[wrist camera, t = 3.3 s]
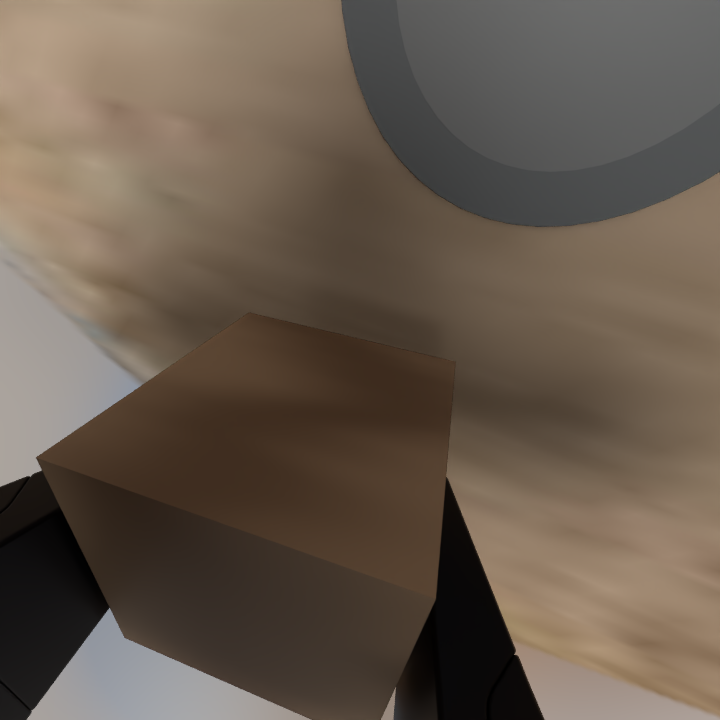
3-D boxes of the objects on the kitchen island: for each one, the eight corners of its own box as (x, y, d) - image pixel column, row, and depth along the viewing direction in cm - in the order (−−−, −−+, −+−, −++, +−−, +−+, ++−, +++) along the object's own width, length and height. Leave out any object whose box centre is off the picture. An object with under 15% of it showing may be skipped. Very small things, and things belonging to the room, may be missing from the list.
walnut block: (455, 361, 8) (435, 599, 4) (411, 507, 10) (369, 745, 6) (248, 312, 9) (35, 457, 4) (255, 458, 11) (124, 637, 7)
